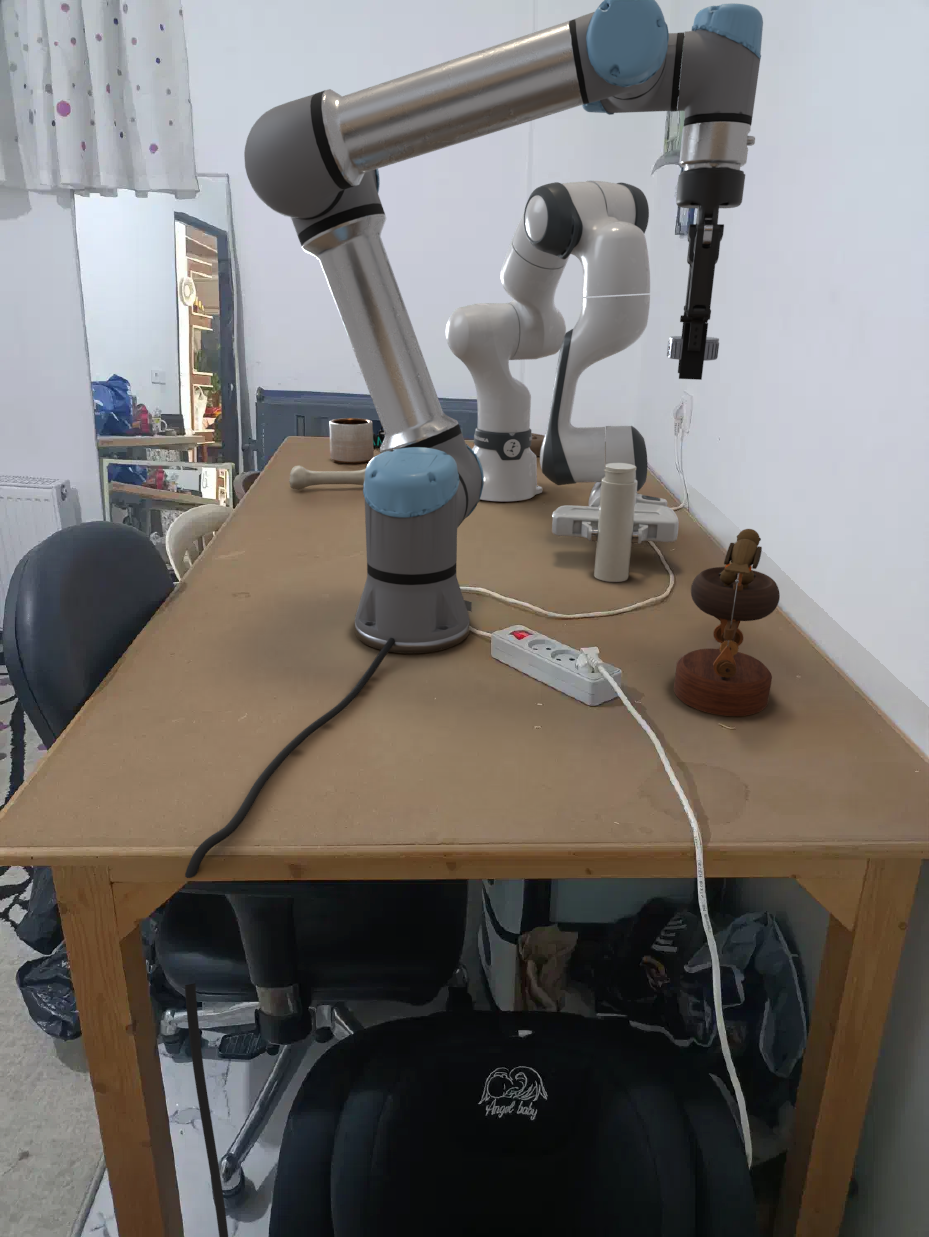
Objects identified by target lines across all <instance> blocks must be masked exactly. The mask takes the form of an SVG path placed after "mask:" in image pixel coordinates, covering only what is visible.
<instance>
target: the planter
mask: <svg viewBox="0 0 929 1237" xmlns="http://www.w3.org/2000/svg"><path fill="white" fill-rule="evenodd" d="M328 424H329V425H328V426H329V453H330V454H329V455H330V456H329V457H330V459H331V460H332V461H333V462H335V463H341V464H363V463H367V462H368V463H369V462H370V461H371V460H372V459H373V458H374V457H375V455H374V452H375V451H374V450H375V449H374V447H373V433H374V430H373V429H374V428H373V420H371V419H369V418H362V417H361V418H360V417H342V418H341V417H340V418H335V419H334V418H333V419H331V420H329V421H328Z"/></svg>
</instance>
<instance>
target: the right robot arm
mask: <svg viewBox="0 0 929 1237" xmlns="http://www.w3.org/2000/svg"><path fill="white" fill-rule="evenodd" d="M647 199H648V198H647V197H646V195H645V193H644V192H643V191H642V190H641V188H639V187H637V186H635V185H632V184H629V183H627V182H617V183H615V182H609V181H602V180H585V181H571V182H564V183H562V182H557V181H556V182H555V181H554V182H549V183H545V184H543V185H540V186H538V187H536V188H534V190H532V192H531V193H530V195H529V196H528V198H527V201H526V203H525V207H524V212H523V213H522V215H521V217H520V219H519V221H518V224H517V225H516V228H515V230H514V232H513V235H512V237H511V241H510V243H509V246H508V248H507V251H506V254H505V257H504V260H503V261H502V262H503V263H502V265H501V267H500V274H499V275H500V282H501V285H502V288H503V289H504V291H505V292H506V293H507V295H509V297H510V298H512V300H510V301H509V302H477V303H473V304H472V303H471V304H467V305H464V306H459V307H457V308H455V309H454V310H453V311H452V312H451V314H450V316H449V318H448V320H447V322H446V326H445V338H446V342H447V345H448V348H449V349H450V351H451V352H452V354H453V355H454V356H455V357H456V358H458V359H459V360H460V361H461V362H462V363H463V365H464V366H465V367H466V368H467V369H468V372H469V373H470V375H471V377H472V380H473V383H474V387H475V391H476V406H477V426H476V428H475V431H474V435H473V447H472V448H471V449H472V450H473V451H474V452H475V453H476V455H477V456H478V458H479V460H480V462H481V465H482V468H483V474H484V485H483V490H482V494H481V497H480V500H482V501H488V502H489V501H490V502H517V501H519V502H520V501H526V500H529V499H531V498H533V497H535V495H539V494H542V493H543V487H542V486H540V485H538V475H537V474H538V464H537V463H538V462H537V460H538V459H537V456H536V455H535V454H534V453H533V452H532V451H531V449H530V446H531V440H532V435H531V433H532V429H531V405H532V394H531V392H530V390H529V388H528V386H526V384H525V383H524V382H522V381H520V380H518V379H517V378H515V377H513V375H512V373H511V370H510V363H509V362H510V361H525V360H526V361H527V360H532V361H533V360H539V359H542V358H547V357H549V356H553V355H556V354H557V353H558V352H559V353H558V358H557V364H556V365H557V366H556V370H555V375H554V382H553V389H552V396H551V401H550V407H549V413H548V421H547V426H546V430H545V433H544V435H545V436H544V439H543V443H542V446H541V451H540V456H539V465H540V469H541V473H542V474H543V475H544V477H545V478H547V479H548V480H549V481H550V482H552V483H553V484H554V485H556V486H564V485H565V486H566V485H575V484H578V483H579V484H580V483H581V484H582V483H594V484H593V486H592V487H591V490H590V492H589V497H588V505H571V504H570V505H569V504H568V505H567V504H566V505H561V506H558V507H557V508H556V509H555V510H553V512H552V514H551V517H552V523H551V533H552V534H553V535H555V536H558V537H569V538H570V537H571V538H585V539H587V541H588V542H597V535H598V518H599V505H600V492H601V480H602V478H604V477H605V471H604V470H605V465H606V464H609V463H627V464H632V465H634V466H636V467H637V469H636V472H635V480H637V492H636V503H635V513H634V524H633V533H632V544H634V545H635V544H636V545H637V544H638V545H641V544H642V542H655V543H656V542H657V543H674V542H676V541H677V540H678V534H679V528H680V527H679V526H680V524H679V518H678V515H677V514H676V512H675V511H674V510H673V509H672V508H671V507H670V506H668V501H667V499H665V498H661V497H656V496H650V495H645V494H641V493H638V492H639V491H640V490H641V489H642V488H643V487H644V485H645V484H646V482H647V479H648V478H647V477H648V453H647V445H646V440H645V437H644V436H643V435H642V433H641V432H640V431H639V429H637V428H636V427H635V426H633V425H605V426H585V427H578V426H574V425H573V424H572V422H571V421H572V415H573V410H574V404H575V403H574V402H575V396H576V392H577V385H578V381H579V379H580V377H581V376H582V374H583V372H585V370H587V369H588V368H589V367H591V366H592V365H594V364H595V363H598V362H600V361H602V360H604V359H607V358H610V357H611V356H614V355H616V354H618V353H620V352H622V351H623V352H624V351H625V350H626V349H627V348H630V347H631V346H632V345H634V344H635V343H636V342H637V341H638V340H639V339H640V338H641V337H642V335H643V334H644V333H645V330H646V328H647V327H648V322H649V316H650V308H651V307H650V305H651V269H650V258H649V248H648V244H647V238H646V235H645V234H646V231H647V229H648V225H649V219H650V209H649V208H650V207H649V202H648V200H647ZM571 255H572V256H574V257H576V258H577V259H578V261H579V262H580V264H581V266H582V298H581V299H582V300H581V302H582V303H581V309H580V314H579V316H578V319H577V322H576V323H575V325H574V327H573V328H571V329H569V330H568V331H567V324H566V321H565V317H564V316H563V314H562V312H561V311H560V310H559V309H558V308H557V306H556V305H555V304H556V303H555V296H556V292H557V289H558V286H559V283H560V280H561V279H562V276H563V273H564V271H565V269H566V266H567V265H568V261H569V259H570V256H571ZM381 445H382V444H380V447H379V448H381Z"/></svg>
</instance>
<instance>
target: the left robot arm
mask: <svg viewBox="0 0 929 1237" xmlns="http://www.w3.org/2000/svg"><path fill="white" fill-rule="evenodd" d="M763 28H764V18H763V15H762V13H761V12H760V10H759V9H758V8H756V7H754V6H753V5H749V4H745V3H722V4H719V5H710V6H707V7H704V8H703V9H701V10H699V11H698V12H697V13H696V14H695V16H694V20H693V24H692V25H691V30H687V31H683V32H672V33H671V32H669V27H668V24H667V23H666V19H665V16H664V13H663V11H662V8H661V7H660V5H659V4H658V2H657V0H602V2H601V3H600V4H599V5H598V6H597V8H596V9H595V10H594V11H592V12H589V13H587V14H583V15H581V16H578V17H576V18H573V19H571V20H567V21H564V22H561V23H557V24H555V25H552V26H549V27H546V28H543V29H540V30H536V31H534V32H530V33H528V34H525V35H523V36H520V37H515V38H513V39H510V40H507V41H504V42H501V43H497V44H495V45H492V46H489V47H486V48H483V49H480V50H477V51H474V52H471V53H468V54H465V55H462V56H458V57H456V58H453V59H450V60H447V61H444V62H441V63H438V64H436V65H432V66H429V67H426V68H423V69H419V70H417V71H413V72H411V73H408V74H405V75H402V76H398V77H396V78H393V79H389V80H386V81H384V82H381V83H378V84H375V85H372V86H370V87H365V88H363V89H360V90H357V91H354V92H351V93H349V94H346V95H341V94H339V93H337V92H336V91H334V90H333V89H331V88H328V89H324V90H322V91H319V92H315V93H314V94H310V95H307V96H303V97H300V98H297V99H294V100H290V101H288V102H285V103H282V104H279V105H277V106H274V107H272V108H270V109H268V110H267V111H265V112H264V113H263V114H261V115H260V116H259V118H258V119H257V120H256V121H255V123H254V124H253V125H252V127H251V128H250V130H249V133H248V134H247V137H246V142H245V145H244V154H243V155H244V156H243V157H244V169H245V173H246V176H247V179H248V181H249V184H250V186H251V189H252V190H253V192H254V193H255V195H256V197H258V198H259V200H261V201H262V203H263V204H264V205H265V206H266V207H268V208H269V209H271V210H272V211H274V212H275V213H278V214H280V215H282V216H284V217H287V218H290V221H291V223H292V226H293V228H294V230H295V233H296V235H297V238H298V241H299V243H300V247H301V249H302V250H303V251H304V252H305V253H307V254H310V255H311V256H314V257H316V259H317V260H319V263H320V266H321V268H322V271H323V273H324V277H325V279H326V282H327V285H328V287H329V290H330V293H331V295H332V297H333V300H334V303H335V306H336V308H337V310H338V313H339V316H340V320H341V321H342V324H343V327H344V330H345V332H346V335H347V337H348V340H349V342H350V345H351V348H352V350H353V353H354V356H355V358H356V361H357V363H358V366H359V369H360V372H361V374H362V377H363V380H364V382H365V385H366V387H367V391H368V393H369V396H370V398H371V400H372V403H373V406H374V409H375V411H376V414H377V417H378V419H379V422H380V424H381V427H383V430H384V432H385V438H384V441H383V443H382V445H381V447H379V454H377V455H374V457H373V459H372V460H370V461H368V463H367V464H366V467H365V469H366V470H365V481H364V485H363V489H362V494H363V497H364V517H365V518H364V520H365V545H366V546H365V548H366V549H365V550H366V579H365V584H364V586H363V589H362V592H361V596H360V600H359V602H358V606H357V609H356V612H355V618H354V633H355V636H356V638H357V639H358V640H359V641H360V642H362V643H363V644H365V645H367V646H368V647H371V648H374V649H377V650H380V651H379V652H378V654H377V655H376V656H375V658H374V659H373V661H372V662H371V664H370V665H369V667H368V669H366V671H365V672H364V673H363V675H362V676H361V678H360V679H359V680H358V682H357V683H356V684H355V686H354V687H353V688H352V689H351V691H349V693H348V694H347V695H346V696H345V697H344V698H343V699H342V700H341V701H339V703H338V704H336V705H335V706H334V707H333V708H331V709H330V710H328V711H327V712H326V713H324V714H323V715H322V716H320V717H319V718H317V719H316V720H314V721H313V722H312V723H311V724H309V725H308V726H307V727H306V728H304V729H303V730H302V731H301V732H300V733H298V734H297V735H296V736H295V737H294V738H293V739H292V740H291V741H290V742H289V743H288V744H287V745H286V746H284V748H282V750H281V751H280V752H279V753H278V754H277V755H275V757H274V758H273V759H272V761H271V762H270V763H269V764H268V765H267V766H266V768H264V770H263V771H262V772H261V774H260V775H259V776H258V778H257V779H256V780H255V782H254V783H253V785H252V786H251V788H250V790H249V791H248V793H247V795H246V796H245V798H244V800H243V802H242V804H241V805H240V807H239V808H238V810H237V811H236V813H235V814H234V815H233V817H232V818H231V820H230V821H229V822H228V823H227V824H226V825H225V826H224V827H222V828H220V829H219V830H218V831H217V832H215V833H213V834H211V835H210V836H209V837H207V838H206V839H205V840H204V841H202V842H201V844H199V846H198V847H197V848H196V849H195V851H194V852H193V854H192V856H191V857H190V860H189V863H188V865H187V867H186V871H185V875H184V877H185V878H187V879H192V878H194V877H195V876H196V875H197V874H198V871H199V868H200V866H201V864H202V862H203V861H204V858H205V856H206V855H207V854H208V852H209V851H210V850H211V849H212V848H213V847H215V846H217V845H218V844H220V843H221V842H222V841H224V840H226V839H227V838H228V837H230V836H232V834H233V833H234V832H235V831H236V830H237V829H238V827H239V826H240V825H241V824H242V823H243V821H244V820H245V819H246V817H247V816H248V814H249V812H250V811H251V809H252V807H253V806H254V804H255V802H256V800H257V798H258V796H259V794H260V793H261V791H262V790H263V788H264V787H265V785H266V784H267V782H268V781H269V780H270V778H271V777H272V776H273V775H274V773H275V772H276V771H277V770H278V768H279V767H280V766H281V765H282V764H283V763H284V762H285V760H286V759H288V757H290V755H291V754H292V753H293V752H294V751H295V750H296V749H297V748H298V747H299V746H300V745H301V744H302V743H303V742H304V741H305V740H306V739H308V737H309V736H311V735H312V734H314V733H315V732H316V731H317V730H318V729H320V728H321V727H322V726H324V725H325V724H327V723H328V722H329V721H331V720H332V719H334V718H335V717H336V716H337V715H339V714H340V713H341V712H343V711H344V710H345V709H346V708H347V707H348V706H349V705H350V704H351V703H352V702H353V701H354V700H355V699H356V697H358V695H359V694H360V693H361V692H362V691H363V689H364V688H365V686H366V685H367V684H368V682H369V681H370V680H371V678H372V677H373V675H374V674H375V673H376V671H377V670H378V668H379V666H381V663H382V662H383V660H384V659H385V657H386V656H387V654H388V653H389V652H390V653H396V654H397V653H398V654H425V653H433V652H439V651H443V650H446V649H449V648H452V647H455V646H457V645H458V644H460V643H462V642H463V641H464V640H466V639H467V637H468V636H469V634H470V616H469V612H471V613H472V611H473V608H472V607H473V602H472V601H469V600H466V599H464V596H463V593H462V589H461V586H460V583H459V581H458V577H457V561H458V560H457V559H458V558H457V557H458V556H457V554H458V528H459V527H460V526H461V524H462V523H463V522H464V521H465V519H466V518H468V517H469V516H470V515H471V514H472V513H473V512H474V510H476V508H477V506H478V504H479V502H480V500H481V499H480V497H481V494H482V490H483V485H484V474H483V468H482V465H481V462H480V460H479V458H478V456H477V455H476V453H475V452H474V451H473V450H472V448H471V447H470V446H469V445H468V444H467V443H466V440H465V437H464V434H463V432H462V429H461V427H460V424H459V421H458V420H457V419H455V418H452V417H451V416H448V415H447V414H446V413H445V412H444V410H443V408H442V404H441V403H440V400H439V397H438V394H437V391H436V388H435V386H434V383H433V380H432V377H431V375H430V371H429V369H428V366H427V363H426V361H425V358H424V355H423V351H422V349H421V346H420V343H419V341H418V338H417V335H416V331H415V330H414V327H413V324H412V321H411V318H410V315H409V313H408V310H407V307H406V304H405V301H404V299H403V296H402V293H401V290H400V287H399V284H398V282H397V279H396V276H395V273H394V270H393V267H392V265H391V262H390V258H389V256H388V254H387V251H386V248H385V244H384V242H383V240H382V231H383V229H384V227H385V224H386V221H387V216H386V212H385V210H384V207H383V204H382V201H381V198H380V195H379V192H380V184H381V183H380V182H381V181H380V170H379V169H381V168H384V167H388V166H390V165H394V164H397V163H400V162H404V161H406V160H409V159H414V158H417V157H420V156H423V155H426V154H429V153H432V152H436V151H438V150H443V149H445V148H449V147H451V146H452V147H453V146H455V145H459V144H461V143H465V142H468V141H471V140H474V139H477V138H480V137H484V136H487V135H490V134H494V133H497V132H500V131H503V130H506V129H510V128H513V127H516V126H519V125H523V124H526V123H529V122H532V121H535V120H538V119H542V118H544V117H549V116H551V115H554V114H557V113H560V112H561V113H562V112H564V111H568V110H571V109H573V108H577V107H580V106H581V107H582V109H583V110H584V111H585V112H587V113H599V114H600V113H601V114H607V115H609V116H610V115H615V114H625V113H627V114H628V113H649V112H651V113H652V112H655V113H656V112H672V113H673V112H684V120H683V126H682V131H681V143H680V152H679V163H678V164H679V165H680V167H681V168H683V171H680V174H678V178H677V188H676V197H675V198H676V199H675V203H676V206H677V207H679V208H681V209H697V210H696V219H695V223H689V225H688V229H687V242H688V247H687V257H686V262H687V264H688V266H689V267H688V276H687V285H686V286H687V287H686V295H685V302H684V303H685V305H684V306H683V315H680V318H679V323H682V329H681V336H683V343H682V353H681V360H678V364H677V366H678V367H677V374H678V380H695V381H697V380H701V381H702V380H703V370H704V363H705V361H704V355H705V346H706V338H707V337H708V328H709V320H711V316H712V309H711V306H712V304H711V303H712V296H713V289H714V280H715V269H716V264H718V262H719V261H718V260H719V258H720V249H721V248H720V247H721V241H722V240H723V238H724V230H725V224H724V223H719V215H720V214H719V213H720V209H733V208H738V207H740V206H741V205H742V203H743V197H744V189H745V183H746V182H745V180H746V173H745V172H744V170H741V167H744V166H745V165H746V164H747V161H748V155H749V147H748V146H751V147H752V146H755V144H756V136H754V135H749V134H750V132H751V131H752V130H751V129H752V128H751V127H752V123H753V117H754V116H753V115H754V110H755V101H756V96H757V95H756V94H757V87H758V79H759V72H760V71H759V70H760V65H761V58H762V54H761V53H762V52H761V51H762V40H763V30H764V29H763ZM196 985H197V983H196V982H193V983H189V984H185V985H184V994H185V1005H186V1018H187V1027H188V1028H187V1029H188V1038H189V1047H190V1053H191V1062H192V1067H193V1068H192V1069H193V1075H194V1076H193V1077H194V1082H195V1089H196V1096H197V1102H198V1107H199V1108H198V1109H199V1115H200V1120H201V1126H202V1131H203V1139H204V1144H205V1149H206V1150H205V1151H206V1155H207V1162H208V1169H209V1174H210V1181H211V1186H212V1188H211V1189H212V1194H213V1201H214V1208H215V1215H216V1221H217V1222H216V1223H217V1230H218V1237H229V1230H228V1222H227V1215H226V1214H227V1213H226V1207H225V1199H224V1192H223V1185H222V1179H221V1172H220V1165H219V1159H218V1158H219V1157H218V1153H217V1147H216V1141H215V1140H216V1139H215V1132H214V1128H213V1121H212V1115H211V1108H210V1103H209V1102H210V1101H209V1096H208V1090H207V1082H206V1076H205V1074H206V1073H205V1068H204V1067H205V1066H204V1059H203V1053H202V1044H201V1036H200V1026H199V1025H200V1024H199V1014H198V1002H197V1001H198V1000H197V986H196Z"/></svg>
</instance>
